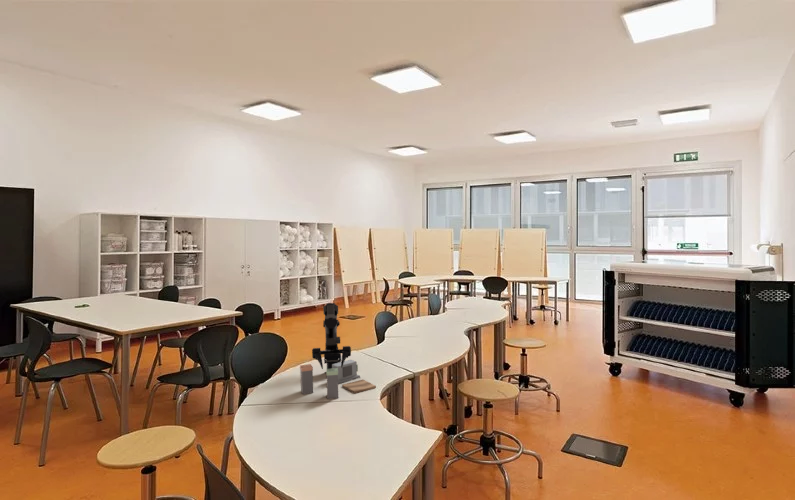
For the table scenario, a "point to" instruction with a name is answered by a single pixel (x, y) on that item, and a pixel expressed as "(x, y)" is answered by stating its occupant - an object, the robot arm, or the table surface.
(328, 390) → the block
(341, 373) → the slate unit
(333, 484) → the table surface
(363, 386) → the walnut pad
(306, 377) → the block
